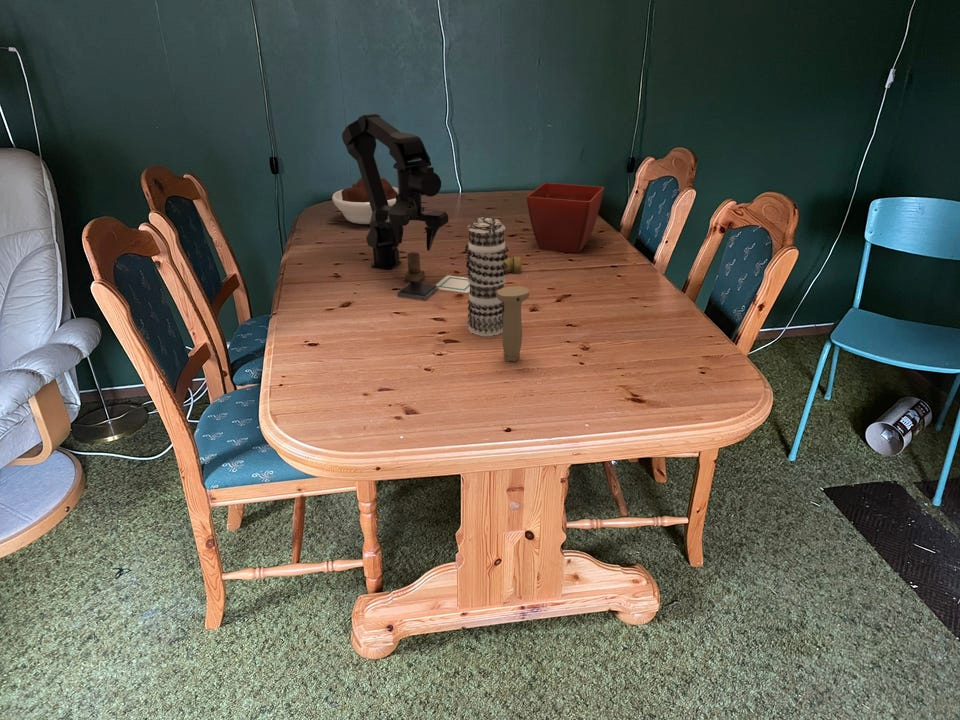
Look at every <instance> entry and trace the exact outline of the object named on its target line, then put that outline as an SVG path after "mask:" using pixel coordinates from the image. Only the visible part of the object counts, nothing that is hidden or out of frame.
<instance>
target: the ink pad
mask: <svg viewBox="0 0 960 720" xmlns="http://www.w3.org/2000/svg"><path fill="white" fill-rule="evenodd" d="M438 291H439V286H436V284H428V283H421V282H420V283H416V282H411V283H408V284H407V285H406V286H405V287H403V288H402V289H400V290H399V291H398V292H397V293H396V294H397V295H396V296H397V298H406V299H410V300H411V299H412V300H419V301H425V302H426V301H428V300H429V299H430V298H431V297H432V296H434V295H435V293H437V292H438Z"/></svg>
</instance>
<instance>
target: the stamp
mask: <svg viewBox="0 0 960 720" xmlns="http://www.w3.org/2000/svg"><path fill="white" fill-rule="evenodd" d="M406 256H407V271H406V272H405V273H404V274H403V275H404V282H405V283H408V284H410V283H411V282H416V283H421V282H423V281H424V280H426V277H425V275H426V274H425V270H424V269H421V265H420V264H421V262H420V253H419V252H418V251H417V252H416V251H411V252H408V253H407V255H406Z"/></svg>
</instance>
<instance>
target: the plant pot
mask: <svg viewBox="0 0 960 720" xmlns="http://www.w3.org/2000/svg"><path fill="white" fill-rule="evenodd" d="M604 191H605V189H604V186H597V185H581V184H569V183H556V182H543V183H542V184H541V185H539V186H538V187H537V188H535V189H534V190H532V191H531V192H530V193H529V194H527V195H526V201H527V208H528V215H529V219H530V224H531V227H532V231H533V234H534V238H535V241H536V242H535V243H536V244H537V247H538V249H540V250H545V251H546V250H547V251H554V252H564V253H565V252H566V253H572V254H573V253H575V254H578V253H580V252H581V251H582V250H583V248H584V247H585V246H586V245H587V244H588V242H589V241H590V238H591V236H592V233H593V231H594V227H595V224H596V222H597V219H598V216H599V211H600V208H601V205H602V204H601V202H602V198H603V195H604Z"/></svg>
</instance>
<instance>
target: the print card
mask: <svg viewBox="0 0 960 720" xmlns="http://www.w3.org/2000/svg"><path fill="white" fill-rule="evenodd" d="M435 285H436V286H439V290H441V291H446V292H454V293H460V294H468V295H469V291H470V283H469V282H468V277H462V276H455V275H447V274H446V276H445V277H443V278H442V279H441V280H440V281H439V282H437V283H436V284H435ZM439 290H438V291H439Z"/></svg>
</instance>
